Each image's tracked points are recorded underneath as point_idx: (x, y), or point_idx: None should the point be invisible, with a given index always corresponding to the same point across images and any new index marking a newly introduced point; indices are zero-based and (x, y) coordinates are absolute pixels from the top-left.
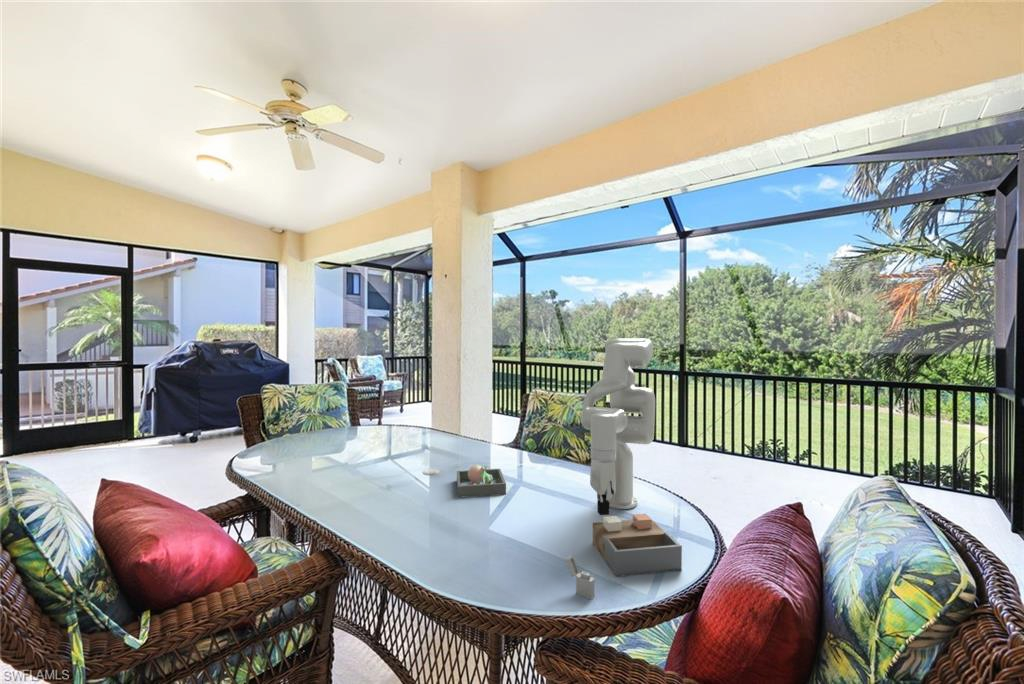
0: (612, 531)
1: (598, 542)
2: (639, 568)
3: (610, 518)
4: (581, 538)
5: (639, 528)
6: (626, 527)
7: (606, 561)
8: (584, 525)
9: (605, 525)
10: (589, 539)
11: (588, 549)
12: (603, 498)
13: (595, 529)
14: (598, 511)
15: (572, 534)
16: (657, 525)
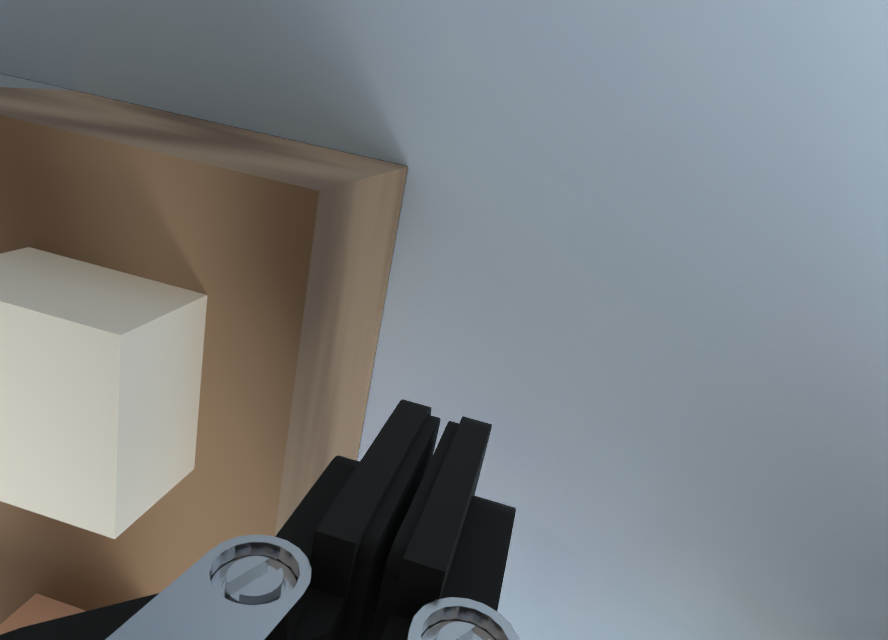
0: None
1: (179, 129)
2: None
3: (42, 402)
4: (552, 97)
5: (31, 606)
6: None
7: (20, 80)
8: (845, 315)
9: (93, 280)
10: (493, 176)
11: (299, 44)
12: (28, 633)
13: (218, 158)
14: (448, 432)
15: (699, 35)
16: None
